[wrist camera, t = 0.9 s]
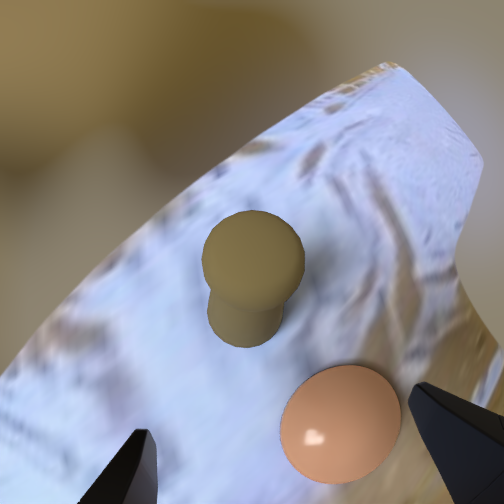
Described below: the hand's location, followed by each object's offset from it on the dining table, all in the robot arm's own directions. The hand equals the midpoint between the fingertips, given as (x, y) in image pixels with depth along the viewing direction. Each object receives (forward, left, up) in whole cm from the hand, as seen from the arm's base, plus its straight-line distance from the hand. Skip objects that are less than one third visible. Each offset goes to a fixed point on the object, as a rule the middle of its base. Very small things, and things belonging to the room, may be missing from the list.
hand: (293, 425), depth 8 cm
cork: (+5, -5, -13) cm, 16 cm away
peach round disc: (-7, -2, -13) cm, 15 cm away
